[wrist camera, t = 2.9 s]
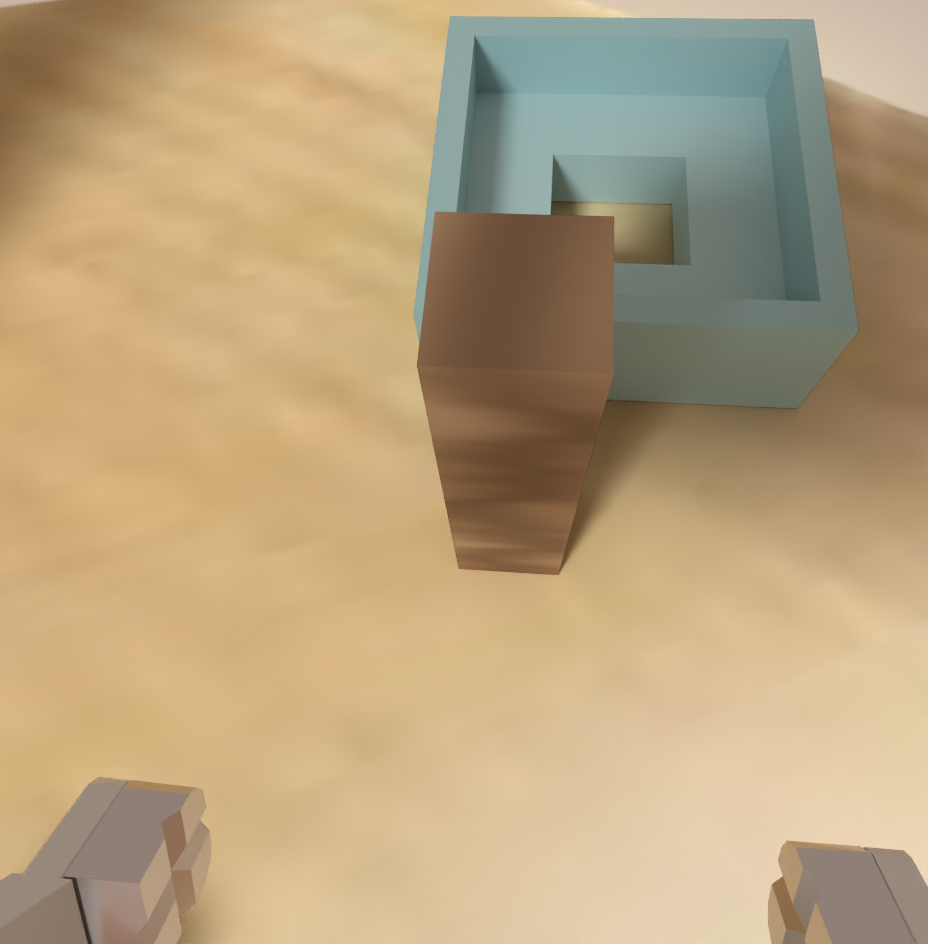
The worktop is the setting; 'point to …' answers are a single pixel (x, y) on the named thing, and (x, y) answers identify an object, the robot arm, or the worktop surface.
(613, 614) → the worktop surface
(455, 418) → the peg
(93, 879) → the robot arm
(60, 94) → the worktop surface
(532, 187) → the socket
